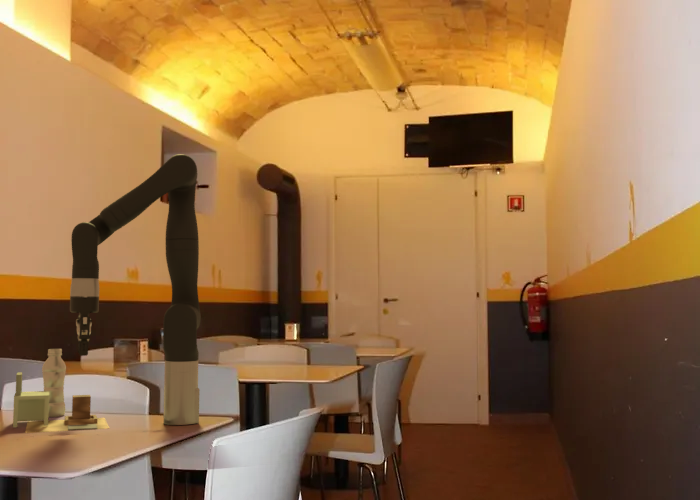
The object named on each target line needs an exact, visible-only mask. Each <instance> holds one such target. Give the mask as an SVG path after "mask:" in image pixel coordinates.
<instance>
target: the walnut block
mask: <svg viewBox="0 0 700 500" xmlns="http://www.w3.org/2000/svg"><path fill="white" fill-rule="evenodd" d="M91 399H92V396H91V394H74V395H72V400H71V401H72V403H71V404H72V406H71V416H72V420H74V419H90V415H91V406H92V405H91V403H92V402H91V401H92V400H91Z"/></svg>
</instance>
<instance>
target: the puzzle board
mask: <svg viewBox="0 0 700 500" xmlns="http://www.w3.org/2000/svg"><path fill="white" fill-rule="evenodd" d="M105 429H107V430H108V429H110V426H109V424H108V422H107V419H106V418H105V417H97V414H90V419H74V420H72V415H66V416H65V415H64V419H55V420H53V419H50V420H49V419H48V426H44V420H39V421H26V427H25V434H31V433H32V434H33V433H34V434H35V433H36V434H37V433H49V432H50V433H53V432H54V433H55V432H68V431H84V430H86V431H88V430H89V431H90V430H91V431H92V430H105ZM68 435H70V434H67V436H68ZM49 436H52V435H49ZM31 437H33V438H34V435H33V436H31Z"/></svg>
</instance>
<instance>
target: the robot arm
mask: <svg viewBox="0 0 700 500" xmlns="http://www.w3.org/2000/svg"><path fill="white" fill-rule="evenodd" d="M197 179H198V167H197V164H196V162H195V160H194V159H193V158H192V157H191V156H189V155H186V154H183V153H178V154H175V155H174V154H173V155H172V156H171V157H170V158H168V159H167V160H166V161H165V162H164V163H163V165H161V166H160V167H159V168H158V169H157V170H156V171H155V172H154V173H153V174H152V175H150V176H149V177H148V178H147V179H145V180H144V181H143V182H142V183H140V184H138V185H137V186H136V187H134V188H133V189H131V190H130V191H128V192H127V193H125V194H124V195H122V196H120V197H119V198H117V199H116V200H115V201H113V202H112V203H110V204H109V205H107V206H106V207H104V208H103V209H102V210H101V211H100V213H99V214H98V215H97V216H96V217H94V218H93V219H91V220H90V221H88V222H86V221H85V222H84V221H83V222H80V223H78V224H76V225H75V226H74V228H73V230H72V232H71V239H70V241H71V255H72V266H71V267H72V268H71V284H70V293H69V294H70V295H69V312H71V313H75V314H76V313H77V314H78V316H77V319H76V320H75V326H76V334H77V335H76V336H77V341H78V343H77V345H78V346H77V349H78V350H77V352H78V354H79V356H82V357H84V356H88V354H89V341H90V339H91V336H90V335H91V333H92V324H93V319H91V317H90V313H91V314H92V313H93V314H94V313H99V310H100V308H99V307H100V306H99V305H100V277H99V276H100V275H99V274H100V263H99V260H98V259H99V258H98V247H99V245H101V244H102V243H104V242H105V241H106V240H107V239H108V238H109V237H111V236H113V234H114V233H115V232H117V231H119V230H120V229H122V228H123V227H124V226H126V225H127V224H129V223H130V222H132V221H134V220H135V219H136V218H138V217H139V216H140V215H141V214H142V213H144V212H145V211H146V210H147V209H148V208H149V207H150V206H151V205H153V204H154V203H155V202H156V201H157V200H159V199H160V198H162V197H163V196H164V195H166V194H167V195H168V196H167V198H168V213H167V220H166V226H165V259H166V265H167V270H168V274H169V275H168V276H169V279H170V284H171V304H170V307H168V309H166V311H165V313H164V316H163V321H162V322H163V326H162V327H163V331H162V332H163V335H162V336H163V337H162V338H163V339H162V346H163V353H164V375H163V376H164V382H163V383H164V385H163V424H164V425H168V426H169V425H171V426H185V425H193V424H199V423H200V391H201V390H200V388H199V354H200V353H199V349H198V343H197V342H198V337H197V336H198V334H197V333H198V331H197V330H198V329H199V327H200V325H201V320H202V317H201V316H202V315H201V309H200V301H199V290H198V281H199V279H198V277H199V255H200V253H199V251H200V249H199V247H200V245H199V244H200V242H199V229H198V220H197V215H196V208H195V205H196V203H195V201H196V199H195V198H196V187H197Z"/></svg>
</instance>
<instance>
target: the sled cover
mask: <svg viewBox="0 0 700 500" xmlns="http://www.w3.org/2000/svg"><path fill="white" fill-rule="evenodd" d="M15 375H16V376H15V392H14V393H15V394H14V395H13V411H12V412H13V413H12V415H13V416H12V428H17V427H18V422H28V421H44V426H48V421H49V417H48V413H49V391H44V390H42V391H41V390H39V391H38V390H37V391H23V390H22V389H23V388H22V387H23V372H21V371H20V372H19V371H18V372H17V373H16V374H15Z"/></svg>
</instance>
